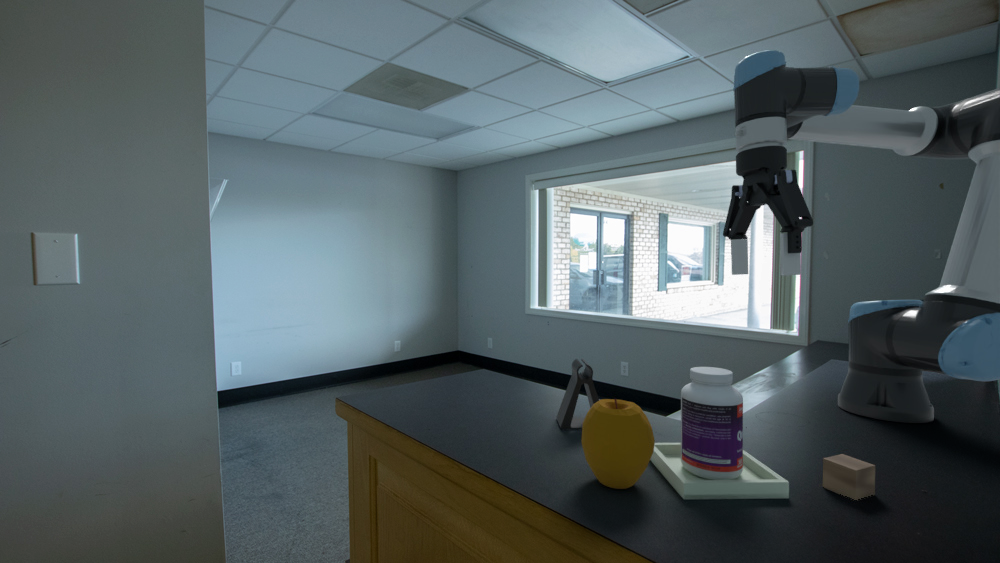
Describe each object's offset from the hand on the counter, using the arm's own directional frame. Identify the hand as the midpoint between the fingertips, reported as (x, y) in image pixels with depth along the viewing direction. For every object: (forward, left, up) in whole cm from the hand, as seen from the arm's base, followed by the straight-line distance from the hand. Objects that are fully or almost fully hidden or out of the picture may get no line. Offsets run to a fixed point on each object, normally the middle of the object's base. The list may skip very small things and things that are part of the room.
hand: (763, 275), depth 77 cm
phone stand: (+29, -9, -29) cm, 42 cm away
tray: (+15, +13, -29) cm, 35 cm away
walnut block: (-1, +18, -29) cm, 34 cm away
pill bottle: (+15, +13, -28) cm, 34 cm away
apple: (+29, +15, -29) cm, 44 cm away
